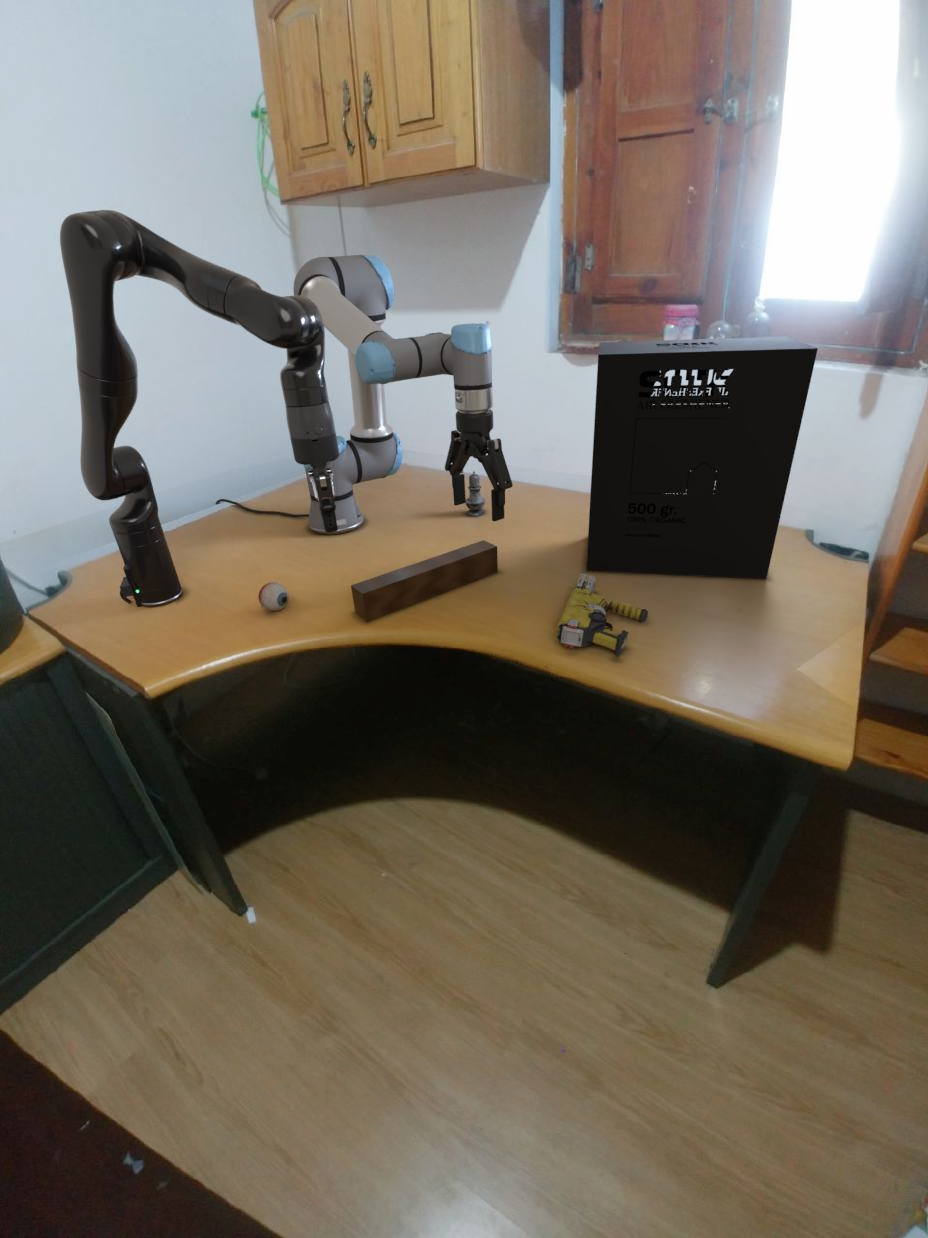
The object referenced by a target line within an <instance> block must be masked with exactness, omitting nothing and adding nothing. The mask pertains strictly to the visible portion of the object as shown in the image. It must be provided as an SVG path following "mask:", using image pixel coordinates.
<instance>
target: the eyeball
mask: <svg viewBox="0 0 928 1238" xmlns="http://www.w3.org/2000/svg"><path fill="white" fill-rule="evenodd" d="M289 596H290V595H289V592H288V590H287V588H286V587H285V586H284V585H283V584H281V583H279V582H276V581H273V582H267V583H266V584H265V583H264V584H263V586H261V588H260V589H259V592H258V601H259V604H260V605H261V606H262V608H264V609H265V610H268V611H270V612H277V611H280V610H282V609H284V608H285V607H286V605H287V604H288V601H289Z"/></svg>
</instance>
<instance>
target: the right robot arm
mask: <svg viewBox="0 0 928 1238" xmlns="http://www.w3.org/2000/svg"><path fill="white" fill-rule="evenodd" d="M292 290H293V296H294V295H300V296H305V297H307V298H309V299H310V300H311V301H313V302H314V304H315V305H316V306H317V308H318V310H319V312H320V314H321V317H322V320H323V324H324V329H326V330H327V331H328V332H329V333H330V334H331V335H332V336H333V337H335V339H336V340H338V341H339V342H340V343H341V344H342V345H343V346H344V347H345V348H346V349H347V358H348V359H347V360H348V371H349V379H350V389H351V399H352V400H351V401H352V410H353V411H352V412H353V423H354V425H353V426H352V427H351V428H350V430H349V439H347V440H346V439H345V437H343V436H341V435H336V437H337V443H338V449H339V457H338V458H337V459H336V460H334V461H329V462H327V463H326V467H327V468H329V467H331V471H332V474H333V486H334V491H335V497H334V503H335V505H336V510H335V515H336V521H337V526H338V530H337V531H335V532H329V533H328V532H326V531H325V528H324V522H323V517H322V516H321V512H320V509H319V501H318V500H316V499H315V495H314V490H313V487H312V485H311V483H310V479H309V474H308V470H312V469H311V465H310V464H307V465H303V467H304V471H305V476H306V481H307V486H308V492H309V498H310V507H309V513H299V514H297V513H296V514H295V513H287V512H284V511H277V510H260V509H259V510H258V509H252V508H249V507H246V506H244V505H243V504H240V503H239V502H237V501H233V500H229V499H225V498H219V499H218V500H216V501H215V505H218V504H220V503H221V502H225V503H229V504H232V505H236V506H237V507H239V508H240V509H242V510H245V511H248V512H251V513H255V514H266V515H269V514H270V515H272V514H273V515H280V516H286V517H291V518H292V517H293V518H305V517H306V518H308V528H309V529H308V530H310V531H311V532H312V533H314V534H317V535H323V536H324V535H325V536H327V535H329V536H331V535H339V534H340V535H341V534H345V533H350V532H353V531H355V530H357V529H359V528H361V527H362V526H363V525H364V523H365V519H364V514H363V512H362V510H361V508H360V505H359V504H358V501H357V500H356V498H355V495H354V489H353V485H357V484H361V483H365V482H369V481H374V480H379V479H385V478H387V477H389V476H393V475H395V474H396V473H398V471H399V470H400V468H401V467H402V464H403V456H404V455H403V453H404V452H403V446H402V444H401V440H400V438H399V435H398V434H397V433H396V432H394V429H393V428H392V426H390V424H388V422H387V421H388V420H387V407H386V392H385V385H386V384H390V383H395V382H401V381H407V380H413V379H419V378H420V379H421V378H427V377H434V376H441V375H442V376H443V375H446V376H453V389H454V405H455V406H454V407H455V409H456V410H457V411H456V413H455V429H453V430H451V431H450V444H449V448H448V451H447V456H446V460H445V464H444V470H445V471H446V472H449V475H450V476H451V486H452V493H453V506H455V507H456V506H460V505H463V504H466V499H467V498H466V482H465V481H466V480H465V474H464V469H465V468H466V465H467V463H468V461H469V459H470V458H471V457H472V458H473V459H476V460H477V461H478V462H479V464H481V465H482V467H483V469H484V471H485V474H486V475H487V477H488V478H487V479H488V480H489V482H490V484H491V486H492V489H491V490H490V493H491V494H490V497H491V499H490V500H491V521H492V522H498V521H501V520H504V519H505V505H506V490H507V489H512V488H513V485H514V484H513V481H512V478H511V475H510V472H509V469H508V465H507V461H506V459H505V456H504V452H503V447H502V440H501V438H495V439H491V436H490V434H491V431H492V430H493V429H494V411H493V410H492V408H493V407H494V394H493V393H494V392H493V354H492V351H493V344H492V338H491V328H490V326H489V325H488V324H486V323H482V322H481V323H475V322H473V323H471V322H470V323H459V324H455V325H453V326H452V327H451V330H450V333H443V332H440V331H437V332H430V333H426V334H424V335H420V336H410V337H401V338H393V337H392V336H391V335H389V334H388V333H387V332H386V331H385V330H384V329H383V328H381V327H382V325H383V324H384V323H385V322H386V320H387V313H386V312H387V311H388V310H389V309H391V308H392V307H393V305H394V301H395V288H394V281H393V279H392V275H391V272H390V270H389V269H388V267H387V265H386V263H385V262H384V261H383V259H381V258H380V257H378V256H376V255H366V254H353V255H352V254H351V255H337V256H318V257H315V258H314V257H313V258H311V259H310V260H308V261H306V262H305V263H304V264H303V265H302V266H301V267H300V268H299V269H298V271H297V273H296V275H295V277H294V281H293V289H292Z"/></svg>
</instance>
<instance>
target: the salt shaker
mask: <svg viewBox="0 0 928 1238" xmlns="http://www.w3.org/2000/svg"><path fill="white" fill-rule="evenodd" d="M468 481H469V482H468V483H469V486H468V487H467V489H468V490H469V493H468V494H469V496H468V498H466V503H465V505H466V507H467V508H468V510H466V515H467V516H472V517H479V516H482V515H485V514H486V511H485V510H484V509H483V508H484V506H485V504H486V503H485V502H486V498H485V497H482V495H481V489H482V486H481V485H480V484H481V483H480V476H479V474H476V471H472V473H471V475H469V477H468Z"/></svg>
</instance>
